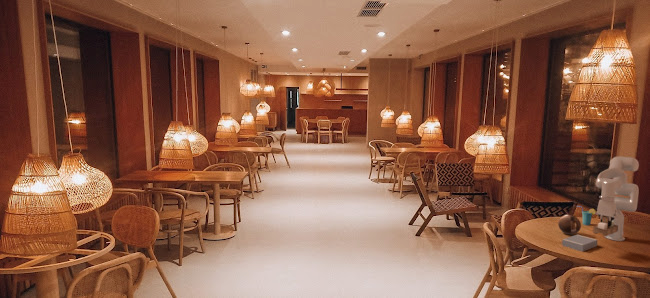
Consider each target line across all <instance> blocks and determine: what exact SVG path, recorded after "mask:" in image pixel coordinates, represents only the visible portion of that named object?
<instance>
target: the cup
mask: <svg viewBox="0 0 650 298" xmlns="http://www.w3.org/2000/svg"><path fill="white" fill-rule="evenodd" d="M576 208H581V214H582V218H581V219H582V225H583V226H591V222H592V217H593V215H596V214H595V213H596V212H597V211H596V209H594V208H589V210H584V207H583V206H582V205H576Z"/></svg>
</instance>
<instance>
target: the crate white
mask: <svg viewBox="0 0 650 298" xmlns="http://www.w3.org/2000/svg"><path fill="white" fill-rule="evenodd" d="M597 226H598V228H601V229H605V230H606V229H607V224H606V223H602V222H601V221H600V222H598V223H597Z"/></svg>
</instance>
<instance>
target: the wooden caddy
mask: <svg viewBox="0 0 650 298" xmlns="http://www.w3.org/2000/svg"><path fill="white" fill-rule="evenodd" d="M608 221H609V217H608V216H602V223H606V224H607V229H606V230H605V229H601V228H598V225H595V226H593V227H592V234H594V235H596V234H601V235H602V236H603V237H604V236H607V235H610V234H612V233H615V232H618V225H614V227H611V228H610V227H608Z"/></svg>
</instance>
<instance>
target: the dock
mask: <svg viewBox="0 0 650 298" xmlns="http://www.w3.org/2000/svg"><path fill="white" fill-rule="evenodd" d="M562 245H563V246H562ZM561 246H562V247H565V246H566V247H565V248H568V247H569V249H571V250H572V249H573V250H576V251H579V252H586V251H588V250H590V249H593V248H596V247H597V246H598V239H595V238H592V237H588V236H584V235H580V234H573V235H571V236H569V237H565V238H563V239H562V240H561Z"/></svg>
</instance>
